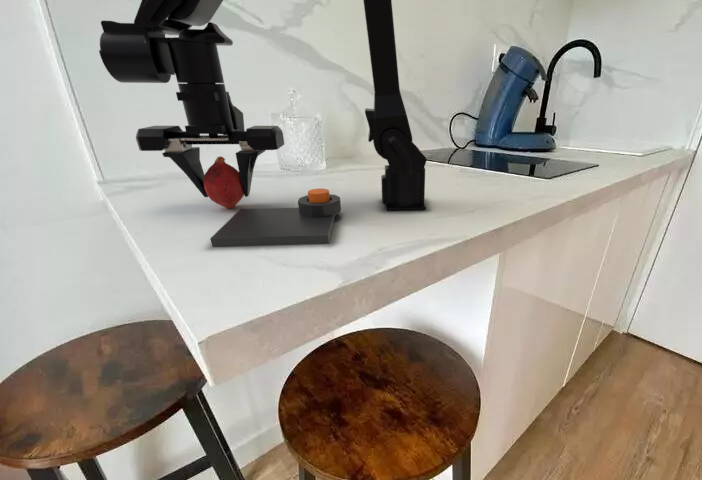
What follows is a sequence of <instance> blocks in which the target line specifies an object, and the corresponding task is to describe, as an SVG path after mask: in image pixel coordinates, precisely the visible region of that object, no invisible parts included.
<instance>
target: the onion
mask: <svg viewBox="0 0 702 480" xmlns="http://www.w3.org/2000/svg"><path fill="white" fill-rule="evenodd" d="M225 160H226V158H224V156H217V157H216V158H215V160H214V162H213V164H212V165H210V167H209V168H208V169H207V171H206V172H205V173H204V175H205V176H204V181H203V183H204V189H205V191H206V194H207V195H208V197H207V198H209V199H210V200H211V201H212V202H214V203H215V204H217V205H219V206H221V207H223V208H225V209H228V210H232V209H234V208H235V207H236V205H237V204H238V203H240V201H242V199H243V198H244V197H245V195H244V192H243V189H242V184H241V179H240V174H239V170H238V169H236V168H235V167H234V166H232V165H231V164H228V163H226V161H225Z"/></svg>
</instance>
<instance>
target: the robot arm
mask: <svg viewBox="0 0 702 480" xmlns="http://www.w3.org/2000/svg"><path fill="white" fill-rule="evenodd" d="M223 2H224V0H141V1H140V3H139V7H138V10H137V12H136V14H135V17H134V20H133V22H118V21H114V20H101V21H100V25H101V28H102V33H101V35H100V37H99V50H98V52H99V56H100V58H101V61H102V63H103V66H104V67H105V69H106V71H107V72H108V74H109V75H110V76H111V77H112V78H113V79H114V80H116V81H117V82H119V83H121V84H122V83H123V84H125V83H126V84H127V83H130V84H131V83H135V84H167V83H169V82H170V80H171V77H172V76H175V78H176V82H177V86H178V90H179V91H176V92H175V95H176V98H177V101H179V102H182V106H183V110H184V114H185V117H186V121H187V124H188V125H184V129H185V130H183V129H182V127H180V125H151V126H146V127H141V128H138V129H137V131H136V135H135V140H136V143H137V147H138V150H139V151H141V152H162V151H164V152H162V153H161V154H162V156H163V157H164V158H169V159H170V160H172V161H173V163H174V164H175V165H176V166H177V167H178V168H179V169H180V170H181V171H182V172H183V173H184V174H185V175H186V176H187V178H188V179H189V180H190V181H191V182H192V184H193V185H194V186H195V187H196V189H197V190H198V191H199V192H200V193H201V195H202V196H203V197H204V198H209V197H208V195H207V194H206V191H205V189H204V183H203V181H204V176H205V171H204V169H203V165H202V162H201V147H200V146H193V145H239V148H240V150H238V151H237V152H235V157H236V164H237V168H238V169H237V170H238V172H239V174H240V179H241V184H242V189H243V192H244V197H245V198H246V197H249V196H251V195H250V194H251V188H252V181H253V176H254V175H253V174H254V168H255V165H256V162H257V159H258V157H259V156H260V155H262V154H263V153H265V152H266V151H276V150H279V149H280V148H282V147H283V146H284V145H285V138H284V133H283V129H282V128H281V127H279V126H278V125H253V126H250V127H247V128H246V130H245V120H244V113H243V112H242V110H241V109H239V108H238V107H237V106H236V105H234V104H233V102H232V99H231V95H230V92H229V91H227V89H226V84H225V79H224V75H223V70H222V64H221V60H220V55H219V51H218V46H223V47H224V46H226V47H229V46H230V47H231V46H233V44H234V42H233V40H232V39H231V38H230V37H228V35H226V34H225V33H224V32H223V31H222V30H221V29H220V27H219V25H218V24H217V23H214V22H212V21H211V20H212V19H213V17H214V15H215V14H216V13H217V11H218V9H219V8H220V6H221V5H222V3H223ZM363 10H364V17H365V24H366V33H367V41H368V50H369V57H370V58H369V59H370V66H371V75H372V84H373V93H374V94H373V108H368V107H366V108H365V109H364V114H365V118H366V122H367V124H368V128H369V129H368V135H367V136H368V137H367V138H368V142H369V143H371V142H372V141H373V147H374V150H375V152H376V153H377V154H378V156H380V157H381V158H382V159H384V160H386V161H387V164H386V165H384V174H382V175H381V179H380V180H381V184H380V185H381V203H382V204H383V205H384V206H385V208H384V209H385V211H425V210H427V205H426V203H425V197H426V196H425V193H426V191H425V190H426V168H425V166H426V163H427V160H428V159H427V157H426V156H425V155H424V153H423V152H422V150H420V148H419V147H418V146H417V145H416V144H415V143H414V142H413V135H412V130H411V126H410V122H409V118H408V115H407V111H406V107H405V104H404V100H403V97H402V94H401V89H400V80H399V79H400V78H399V67H398V57H397V47H396V35H395V23H394V13H393V2H392V0H363ZM205 25H206V26H205ZM202 26H205V27H204V28H202V29H200V28H192V27H202ZM166 35H167V36H175V37H166ZM176 36H177V37H176Z"/></svg>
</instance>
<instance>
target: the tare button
mask: <svg viewBox="0 0 702 480" xmlns="http://www.w3.org/2000/svg"><path fill="white" fill-rule="evenodd" d="M329 194H330V190H329V189H327V188H311V189H309V190H308V191H307V195H308V198H309V202H313V203H322V202H328V201H330V195H329Z"/></svg>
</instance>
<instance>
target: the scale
mask: <svg viewBox="0 0 702 480" xmlns="http://www.w3.org/2000/svg"><path fill="white" fill-rule="evenodd" d="M329 195H330V201H328V202H322V203H313V202H309V198H308V194H307V195H304V196H301V197H299V198H298V200H297V206H298V207H266V208H265V207H261V208H256V207H255V208H240V209H238V211H236V213H234V215H233V216H232V217H231V218H230V219H229V220H228V221H226V223H224V224H223V226H221V227H220V228H219V229H218V230H217V231H216V232H215V233H214V234H213V235H212V236H211V237H210V238H209V239H210V244H211V246H212V247H211V248H227V247H228V248H229V247H261V246H262V247H264V246H265V247H266V246H295V245H296V246H297V245H300V246H301V245H329V244H330V240H331V236H332V232H333V228H334V224H335V220H336V216H337V214H339V213H341V211H342V203H341V197H340V196H338V195H336V194H332V193H329Z"/></svg>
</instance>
